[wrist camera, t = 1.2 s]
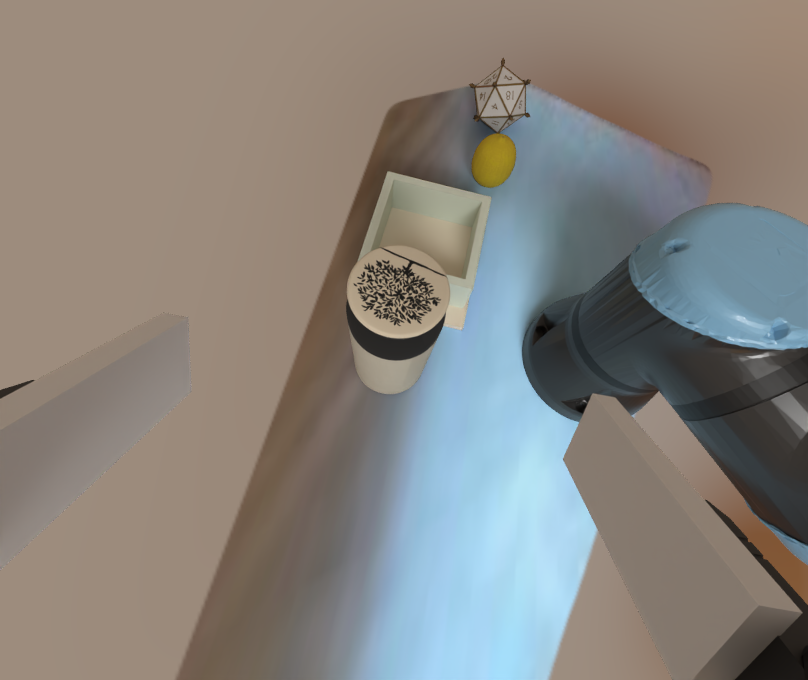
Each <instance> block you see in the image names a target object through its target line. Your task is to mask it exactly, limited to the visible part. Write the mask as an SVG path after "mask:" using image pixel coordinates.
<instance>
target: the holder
mask: <svg viewBox="0 0 808 680" xmlns="http://www.w3.org/2000/svg"><path fill="white" fill-rule="evenodd" d="M491 198H492V197H489V196H485V195H481V194H477V193H473V192H469V191H465V190H461V189H457V188H453V187H449V186H445V185H441V184H437V183H433V182H429V181H425V180H421V179H417V178H413V177H409V176H405V175H401V174H397V173H393V172H389V171H388V172H387V175H386V178H385V181H384V184H383V187H382V190H381V193H380V196H379V199H378V202H377V205H376V208H375V211H374V214H373V217H372V220H371V223H370V226H369V229H368V232H367V235H366V238H365V241H364V244H363V247H362V250H361V253H360V256H359V259H358V261H359V260H360V259H361V258H362V257H363V256H364V255H366V254H367V253H369V252H371V251H373V250H375V249H377V248H380V247H384V246H389V245H405V246H410V247H414V248H417V249H419V250H422V251H424V252H425V253H427V254H429V255H430V256H431V257H433V258H434V259H435V260H436V261H437V262H438V263H439V264H440V266H441V267H442V268H443V270H444V272H445V274H446V276H447V278H448V281H449V285H450V301H449V305H448V308H447V311H446V317H445V322H444V325H443V326H446V327H450V328H454V329H458V330H462V329H463V326H464V321H465V316H466V312H467V307H468V302H469V297H470V294H471V292H472V290H473V287H474V282H475V277H476V272H477V267H478V262H479V257H480V252H481V247H482V242H483V237H484V232H485V227H486V222H487V217H488V212H489V207H490V203H491Z"/></svg>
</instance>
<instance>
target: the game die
mask: <svg viewBox="0 0 808 680" xmlns="http://www.w3.org/2000/svg"><path fill="white" fill-rule="evenodd" d="M504 63H505V60H504V58H503V59H502V61H501V65H502V66H501V67H499V68H498V69H497V70H495V71H494V72H493V73H492V74H490V75H489V76H488V77H486V78H485V79H484V80H483V81H481V82H480V83H479V84H477V85H476V86H475V85H473V83H472V84H469V85H470V87H471V88H474V90H475V100H476V109H477V115H475V116H474V118H473V119H475V121H476V122H478V121H479V119H480V120H482V121H483V122H484V123H485V124H486V125H488V126H489V127H490V128H491V129H493V130H494V131H495V132H496V133H500V132H501V131H502V130H504V129H505V128H507V127H508V126H510V125H511V124H512V123H514V122H515V121H517V120H518V119H520V118H521V117H522V116H524V115H525V116H526V117H530V115H529V114H528V113H526V85H528V84H530V81H531V80H527V81H526V82H525V80H521V79H520V78H519V77H518V76H516V75H515V74H514V73H513V72H511V71H510V70H509V69H508V68H506V67H505V66H504Z"/></svg>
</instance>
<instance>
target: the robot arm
mask: <svg viewBox="0 0 808 680" xmlns="http://www.w3.org/2000/svg"><path fill="white" fill-rule="evenodd" d="M523 363H524V368H525V371H526V374H527V377H528V379H529V381H530V383H531V385H532V387H533V388H534V390H535V391H536V393H537V394H538V395H539V396H540V398H541V399H542V400H543V401H544V402H545V403H546V404H547V405H548V406H550V407H551V408H552V409H553V410H555V411H556V412H558V413H559V414H561V415H563V416H565V417H567V418H569V419H571V420H574V421H577V422H579V424H578V427H577V429H576V431H575V433H574V436H573V438H572V440H571V442H570V444H569V447H568V449H567V451H566V453H565V455H564V458H563V460H564V462H565V464H566V466H567V468H568V470H569V472H570V474H571V476H572V478H573V480H574V483H575V485H576V487H577V489H578V491H579V493H580V495H581V497H582V499H583V501H584V503H585V505H586V507H587V509H588V511H589V513H590V515H591V517H592V519H593V521H594V523H595V525H596V527H597V529H598V531H599V533H600V535H601V537H602V539H603V541H604V543H605V545H606V547H607V549H608V551H609V553H610V555H611V557H612V559H613V561H614V563H615V565H616V567H617V569H618V571H619V573H620V575H621V577H622V579H623V581H624V583H625V585H626V587H627V589H628V591H629V593H630V595H631V597H632V599H633V601H634V603H635V605H636V608H637V609H638V612H639V613H640V616H641V618H642V620H643V621H644V624H645V626H646V628H647V629H648V632H649V634H650V636H651V638H652V640H653V642H654V644H655V646H656V648H657V650H658V652H659V654H660V656H661V658H662V660H663V662H664V664H665V666H666V668H667V670H668V672H669V674H670V676H671V678H672V680H808V605H807V604H806V603H805V602H804V600H803V599H802V598H801V597H800V596H799V595H798V594H797V593H796V592H795V591H794V589H793V588H792V587H791V586H790V585H789V584H788V583H787V582H786V580H785V579H784V578H783V577H782V576H781V575H780V574H779V573H778V571H777V570H776V569H775V568H774V567H773V566H772V565H771V564H770V563H769V562H768V560H765V559H763V555H762V554H761V553H760V551H759V550H758V549H757V548H756V547H755V546H754V545H753V544H752V543H751V542H748V538H747V537H746V536H745V535H744V534H743V533H742V531H741V530H740V529H739V528H738V527H737V526H736V525H735V524H734V522H732V520H731V519H730V518H729V517H727V516H726V515H725V514H723V513H722V512H721V511H720V510H719V509H717V508H716V507H715V506H714V505H712V504H711V503H710V502H708V501H707V500H704V499H703V498H702V497H701V495H700V494H699V493H698V492H697V491H696V490H695V489H694V487H693V486H692V485H691V484H690V483H689V482H688V481H687V479H686V478H685V477H684V476H683V475H682V474H681V472H680V471H679V470H678V469H677V468H676V467H675V466H674V464H673V463H672V462H671V461H670V460H669V459H668V458H667V456H666V455H665V454H664V453H663V452H662V451H661V449H660V448H659V447H658V446H657V445H656V444H655V443H654V441H653V440H652V439H651V438H650V437H649V436H648V435H647V433H646V432H645V431H644V430H643V429H642V428H641V427H640V425H639V424H638V423H637V422H636V421H635V420H634V418H633V417H632V416H631V415H633V414H634V413H636V412H637V411H639V410H640V409H641V408H642V407H643V406H645V405H646V404H647V402H648V401H650V399H651V398H653V396H654V395H655V394H656V393H657V392H658V391H660V393H661V394H662V395H663V396H664V397H665V399H666V400H667V401H668V402H669V404H670V405H671V406H672V407H673V409H674V410H675V411H676V412H677V413H678V415H679V416H680V418H681V419H682V420H683V422H684V423H685V424H686V425H687V427H688V428H689V429H690V431H691V432H692V433H693V434H694V436H695V437H696V438H697V439H698V441H699V442H700V443H701V444H702V446H703V447H704V448H705V450H706V451H707V452H708V453H709V455H710V456H711V457H712V458H713V459H714V461H715V462H716V463H717V465H718V466H719V467H720V468H721V470H722V471H723V472H724V474H725V475H726V476H727V477H728V479H729V480H730V481H731V482H732V484H733V485H734V486H735V488H736V489H737V490H738V491H739V493H740V494H741V495H742V496H743V498H744V500H745V502H746V504H747V505H748V507H749V508H750V510H751V511H752V513H753V514H754V515H756V516H757V517H758V518H759V520H760V521H761V522H762V523H763V524H764V525H766V526H767V527H768V528H769V529H771V530H772V531H773V533H774V534H775V535H776V536H777V537H778V538H779V539H780V540H781V542H782V543H783V544H784V545H785V546H786V547H787V548H788V550H789V551H791V552H792V553H793V554H794V555H795V556H796V557H798V558H799V559H800V560H801V561H803V562H804V563H806V564H807V565H808V225H806V224H804V223H803V222H801V221H799V220H797V219H795V218H793V217H790V216H788V215H786V214H783V213H781V212H778V211H775V210H771V209H768V208H765V207H760V206H753V207H752V206H748V205H744V204H740V203H717V204H711V205H706V206H701V207H698V208H695V209H692V210H690V211H687V212H685V213H683V214H681V215H680V216H678V217H676V218H675V219H674V220H672V221H671V222H670V223H668V224H667V225H666V226H664V227H663V228H662V229H660V230H659V231H658V232H656V233H655V234H652V235H650V236H648V237H647V238H645V239H644V240H643V241H641V242H640V243H639V244H638V245H637V247H636V248H635V250H634V251H633V252H632V253H631V254H630V255H629V256H628V257H627V258H626V259H625V260H623V261H622V262H621V263H620V264H619V265H618V266H617V267H615V268H614V269H613V270H612V271H611V272H610V273H609V274H608V275H606V276H605V277H604V278H603V279H602V280H601V281H600V282H599V283H597V284H596V285H595V286H594V287H593V288H592V289H591V290H589V291H588V292H587V293H583V294H579V295H576V296H572V297H569V298H565V299H562V300H560V301H557V302H555V303H554V304H552V305H550V306H549V307H547V308H546V309H545V310H544V311H543V312H542V313H541V314H540V315H539V316H538V317H537V318H536V319H535V320H534V321H533V322H532V323H531V325H530V326H529V328H528V330H527V332H526V335H525V338H524V343H523ZM190 392H191V372H190V350H189V328H188V317H184V316H178V315H173V314H168V313H162V314H160V315H158V316H156V317H154V318H153V319H151V320H149V321H147V322H145V323H143V324H141V325H139V326H138V327H135V328H134V329H132V330H130V331H128V332H126V333H124V334H122V335H120V336H119V337H116V338H115V339H113V340H111V341H109V342H107V343H105V344H103V345H101V346H100V347H98V348H96V349H94V350H92V351H90V352H88V353H86V354H84V355H82V356H81V357H79V358H77V359H75V360H73V361H71V362H69V363H67V364H65V365H63V366H62V367H60V368H58V369H56V370H54V371H52V372H50V373H48V374H46V375H45V376H43V377H41V378H39V379H37V380H31V381H28V382H25V383H21V384H18V385H15V386H12V387H9V388H5V389H2V390H0V570H1V569H2V568H3V567H4V566H5V565H6V564H7V563H8V562H10V561H11V560H12V559H13V558H14V557H15V556H16V555H17V554H18V553H19V552H20V551H21V550H22V549H23V548H25V547H26V546H27V545H28V544H29V543H30V542H31V541H32V540H33V539H34V538H35V537H36V536H37V535H38V534H39V533H40V532H42V530H44V529H45V528H46V527H47V526H48V525H49V524H50V523H51V522H52V521H53V520H54V519H55V518H57V517H58V516H59V515H60V514H61V513H62V512H63V511H64V510H65V509H66V508H67V507H68V506H69V505H70V504H72V503H73V502H74V501H75V500H76V499H77V498H78V497H79V496H80V495H81V494H82V493H83V492H84V491H85V490H87V489H88V488H89V487H90V486H91V485H92V484H93V483H94V482H95V481H96V480H97V479H98V478H99V477H101V476H102V475H103V474H104V473H105V472H106V471H107V470H108V469H109V468H110V467H111V466H112V465H113V464H114V463H116V462H117V461H118V460H119V459H120V458H121V457H122V456H123V455H124V454H125V453H126V452H127V451H128V450H129V449H131V448H132V447H133V446H134V445H135V444H136V443H137V442H138V441H139V440H140V439H141V438H142V437H143V436H144V435H146V434H147V433H148V432H149V431H150V430H151V429H152V428H153V427H154V426H155V425H156V424H157V423H158V422H159V421H161V419H162V418H164V417H165V416H166V415H167V414H168V413H169V412H170V411H171V410H172V409H173V408H174V407H176V406H177V404H179V403H180V402H181V401H182V400H183V399H184V398H185V397H186V396H187V395H188V394H189V393H190Z"/></svg>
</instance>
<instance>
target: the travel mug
mask: <svg viewBox="0 0 808 680" xmlns="http://www.w3.org/2000/svg"><path fill="white" fill-rule="evenodd" d="M347 298H348V299H347V305H346V312H347V319H348V325H349V331H350V337H351V343H352V349H353V355H354V361H355V367H356V371H357V373H358V376H359V377H360V379H361V380H362V381H363V383H364V384H365V385H366V386H368V387H369V388H371V389H372V390H374V391H376V392H379V393H383V394H396V393H400V392H403V391H405V390H407V389H409V388H410V387H412V386H413V385H414V384H415V383H416V382H417V380H418V379H419V377H420V376H421V374H422V371H423V369H424V367H425V365H426V363H427V360H428V358H429V356H430V354H431V352H432V349H433V347H434V345H435V343H436V341H437V338H438V336H439V334H440V332H441V330H442V327H443V325H444V322H445V317H446V311H447V308H448V305H449V301H450V285H449V281H448V278H447V276H446V274H445V272H444V270H443V268H442V267H441V266H440V264H439V263H438V262H437V261H436V260H435V259H434V258H433V257H431V256H430V255H429V254H427V253H425V252H424V251H422V250H419V249H417V248H414V247H410V246H405V245H389V246H384V247H380V248H377V249H375V250H373V251H371V252H369V253H367V254H366V255H364V256H363V257H362V258H361V259H360V260H359V261H358V262H357V263H356V264H355V266H354V267H353V269H352V271H351V273H350V275H349V278H348V283H347Z"/></svg>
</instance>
